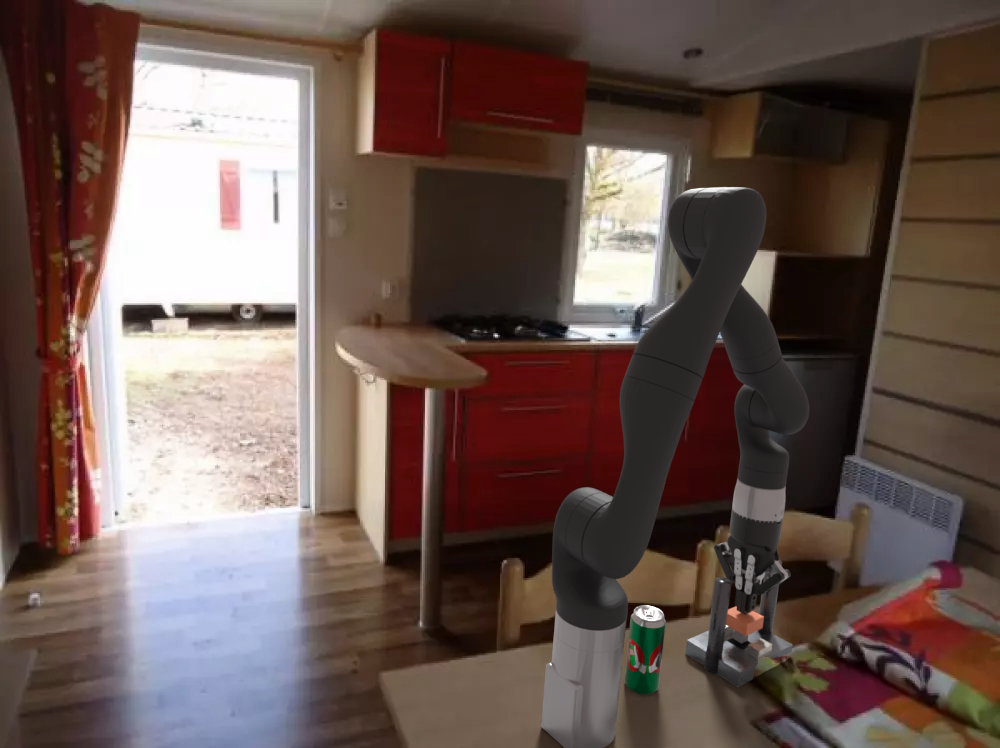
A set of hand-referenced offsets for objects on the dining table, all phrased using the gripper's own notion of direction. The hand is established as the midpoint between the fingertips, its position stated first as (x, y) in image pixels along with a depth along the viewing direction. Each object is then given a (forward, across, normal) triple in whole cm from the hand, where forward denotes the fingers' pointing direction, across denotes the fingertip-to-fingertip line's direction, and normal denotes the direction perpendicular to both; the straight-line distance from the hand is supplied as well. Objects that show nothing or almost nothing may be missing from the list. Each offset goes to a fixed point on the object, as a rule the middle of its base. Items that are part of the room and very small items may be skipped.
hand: (744, 611), depth 114 cm
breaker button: (+5, 0, 0) cm, 5 cm away
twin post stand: (+8, 0, 0) cm, 8 cm away
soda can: (+8, -3, -20) cm, 21 cm away
